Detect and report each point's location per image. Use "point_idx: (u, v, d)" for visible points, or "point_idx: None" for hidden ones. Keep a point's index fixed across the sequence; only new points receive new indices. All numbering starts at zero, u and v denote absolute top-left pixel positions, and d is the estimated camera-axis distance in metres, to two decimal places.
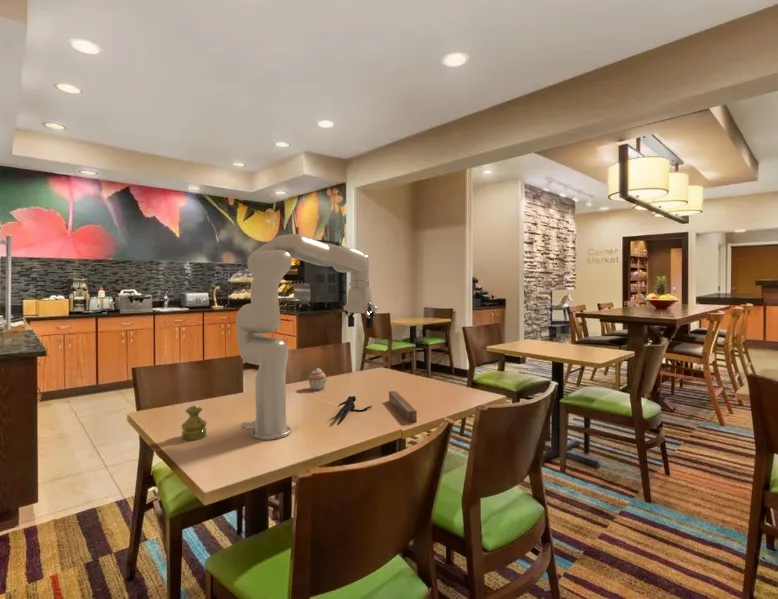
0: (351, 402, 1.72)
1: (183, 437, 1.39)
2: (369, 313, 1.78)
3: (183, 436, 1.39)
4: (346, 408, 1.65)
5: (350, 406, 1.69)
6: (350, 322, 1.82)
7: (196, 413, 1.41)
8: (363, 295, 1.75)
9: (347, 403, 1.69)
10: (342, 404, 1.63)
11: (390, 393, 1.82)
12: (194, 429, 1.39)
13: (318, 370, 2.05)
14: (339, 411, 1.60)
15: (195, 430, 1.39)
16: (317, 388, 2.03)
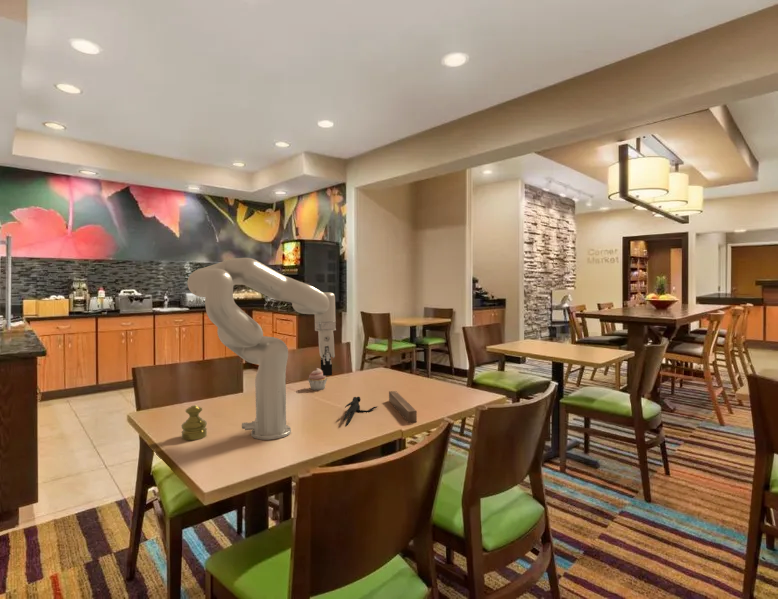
0: (356, 403, 1.71)
1: (183, 437, 1.39)
2: None
3: (183, 436, 1.39)
4: (352, 409, 1.64)
5: (356, 407, 1.68)
6: None
7: (196, 413, 1.41)
8: None
9: (353, 404, 1.67)
10: None
11: (390, 393, 1.82)
12: (194, 429, 1.39)
13: (318, 370, 2.05)
14: (346, 412, 1.58)
15: (195, 430, 1.39)
16: (317, 388, 2.03)
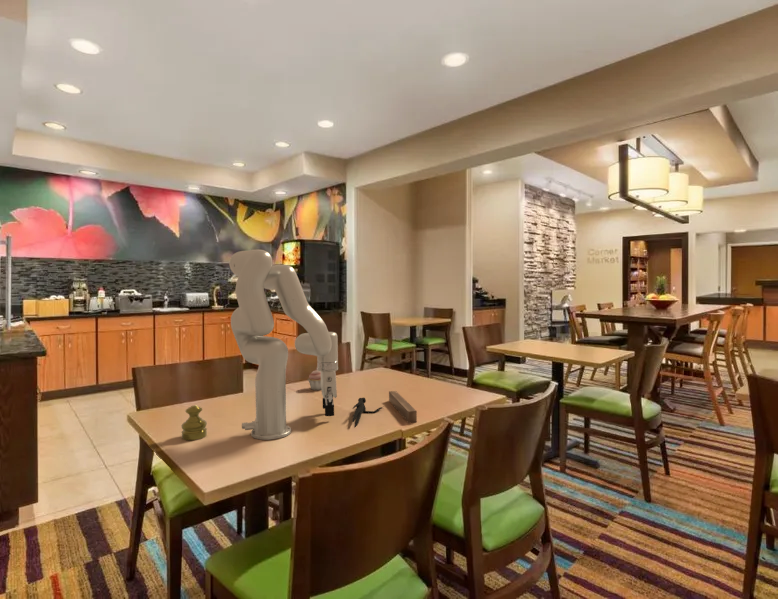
0: (362, 404, 1.69)
1: (183, 437, 1.39)
2: None
3: (183, 436, 1.39)
4: (359, 410, 1.62)
5: (362, 408, 1.67)
6: None
7: (196, 413, 1.41)
8: None
9: (359, 405, 1.66)
10: (356, 406, 1.60)
11: (390, 393, 1.82)
12: (194, 429, 1.39)
13: None
14: (354, 413, 1.57)
15: (195, 430, 1.39)
16: (317, 388, 2.03)
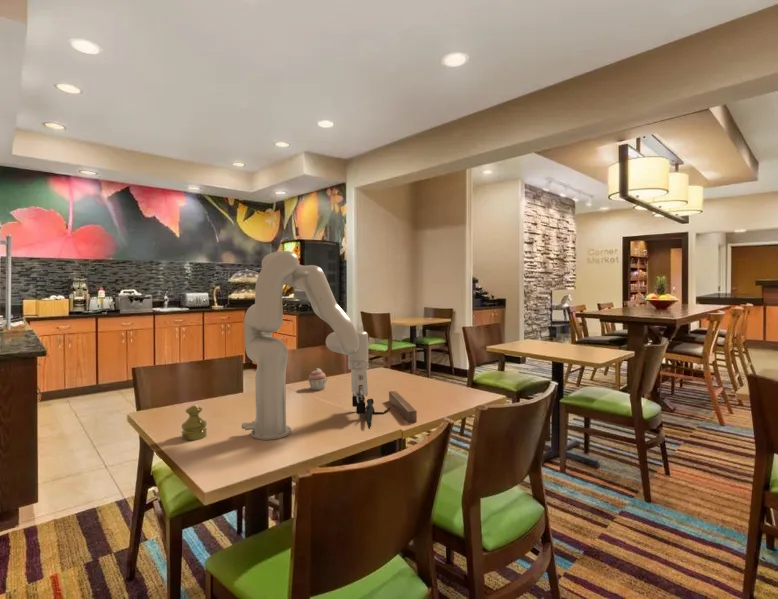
0: (371, 405, 1.68)
1: (183, 437, 1.39)
2: None
3: (183, 436, 1.39)
4: (370, 411, 1.61)
5: (372, 409, 1.65)
6: None
7: (196, 413, 1.41)
8: None
9: (369, 406, 1.65)
10: (367, 407, 1.59)
11: (390, 393, 1.82)
12: (194, 429, 1.39)
13: (318, 370, 2.05)
14: (366, 415, 1.56)
15: (195, 430, 1.39)
16: (317, 388, 2.03)
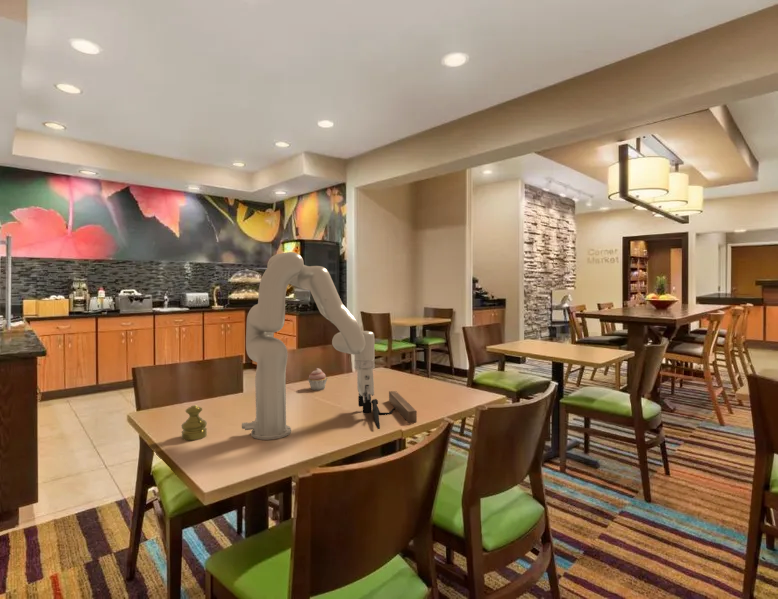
0: (376, 405, 1.67)
1: (183, 437, 1.39)
2: None
3: (183, 436, 1.39)
4: (377, 412, 1.60)
5: (377, 409, 1.65)
6: None
7: (196, 413, 1.41)
8: None
9: None
10: (374, 408, 1.58)
11: (390, 393, 1.82)
12: (194, 429, 1.39)
13: (318, 370, 2.05)
14: (374, 415, 1.55)
15: (195, 430, 1.39)
16: (317, 388, 2.03)
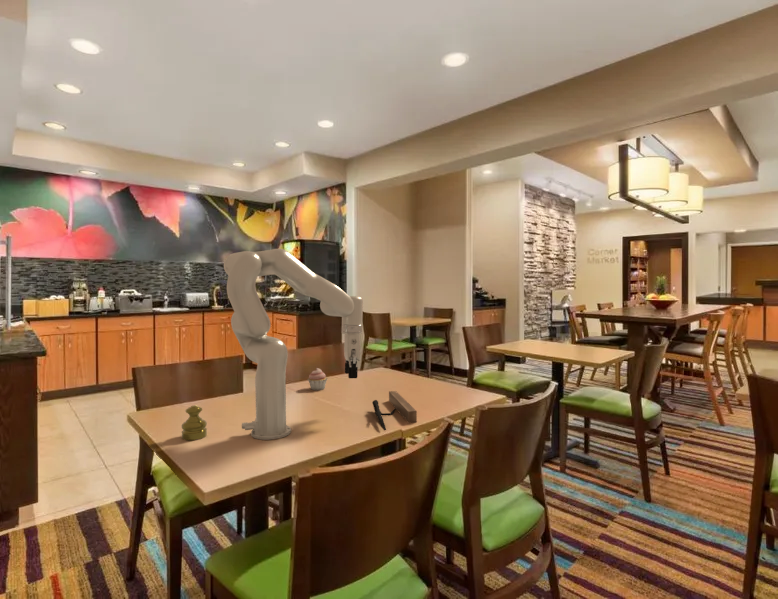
0: None
1: (183, 437, 1.39)
2: None
3: (183, 436, 1.39)
4: (380, 413, 1.59)
5: None
6: None
7: (196, 413, 1.41)
8: None
9: None
10: (378, 409, 1.57)
11: (390, 393, 1.82)
12: (194, 429, 1.39)
13: (318, 370, 2.05)
14: (379, 416, 1.53)
15: (195, 430, 1.39)
16: (317, 388, 2.03)
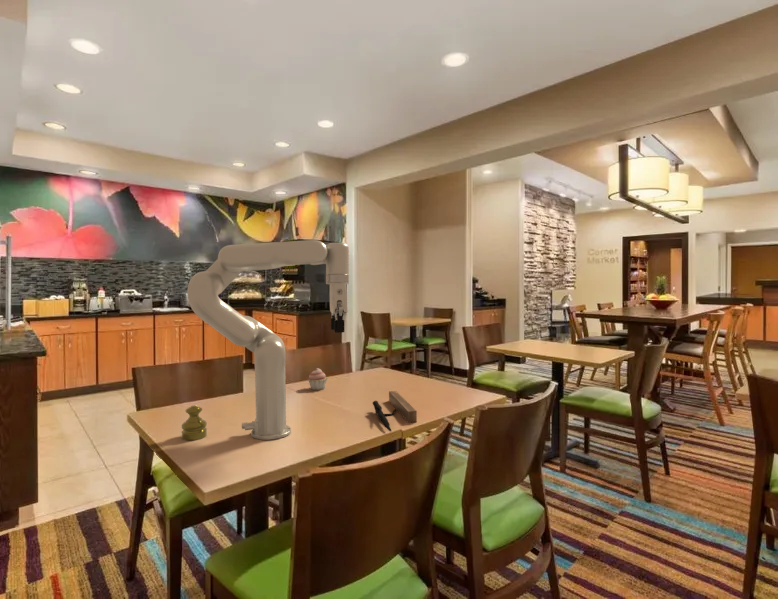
0: None
1: (183, 437, 1.39)
2: (333, 313, 1.53)
3: (183, 436, 1.39)
4: None
5: None
6: None
7: (196, 413, 1.41)
8: None
9: (379, 408, 1.61)
10: (381, 409, 1.56)
11: (390, 393, 1.82)
12: (194, 429, 1.39)
13: (318, 370, 2.05)
14: (383, 417, 1.53)
15: (195, 430, 1.39)
16: (317, 388, 2.03)
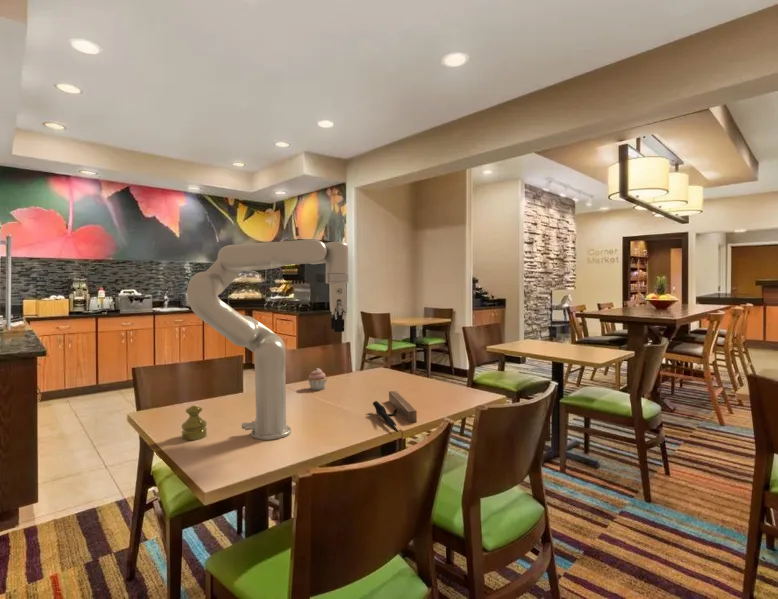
0: None
1: (183, 437, 1.39)
2: None
3: (183, 436, 1.39)
4: None
5: None
6: None
7: (196, 413, 1.41)
8: None
9: (381, 409, 1.61)
10: (385, 410, 1.55)
11: (390, 393, 1.82)
12: (194, 429, 1.39)
13: (318, 370, 2.05)
14: (388, 417, 1.52)
15: (195, 430, 1.39)
16: (317, 388, 2.03)
